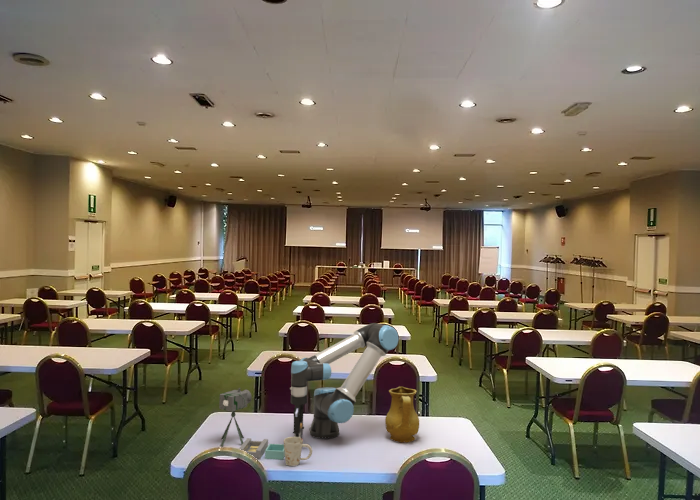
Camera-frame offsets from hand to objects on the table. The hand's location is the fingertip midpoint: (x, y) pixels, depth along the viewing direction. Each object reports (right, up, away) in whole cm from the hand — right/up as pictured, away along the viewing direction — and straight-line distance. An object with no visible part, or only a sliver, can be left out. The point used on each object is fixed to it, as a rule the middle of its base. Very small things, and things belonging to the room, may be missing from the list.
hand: (298, 445), depth 226 cm
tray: (-9, -1, -9) cm, 12 cm away
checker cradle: (-20, -1, -6) cm, 21 cm away
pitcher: (+50, -4, +16) cm, 53 cm away
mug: (+1, -1, -16) cm, 17 cm away
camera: (-32, -1, +7) cm, 33 cm away
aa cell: (0, -1, 0) cm, 1 cm away
